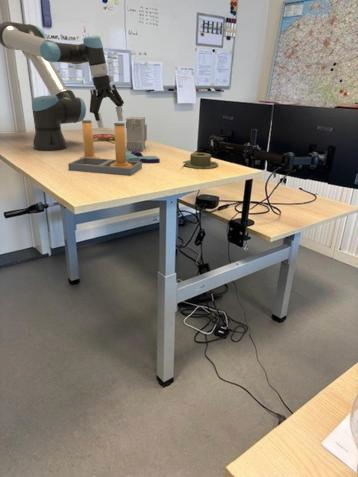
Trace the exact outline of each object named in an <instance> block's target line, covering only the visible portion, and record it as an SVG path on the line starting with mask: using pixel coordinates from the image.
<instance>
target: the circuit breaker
mask: <svg viewBox="0 0 358 477" xmlns="http://www.w3.org/2000/svg"><path fill="white" fill-rule="evenodd" d="M147 127H148V126H147V124H146V117H143V116H142V117H141V116H128V117H126V118H125V128H126V129H125V134H126V140H125V148H126V151H127V152H130V153H131V152H132V151H138V152H140V153H142V152H143V151H145V150H146V142H147V139H148V138H147V135H148V133H147Z"/></svg>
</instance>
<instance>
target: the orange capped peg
mask: <svg viewBox="0 0 358 477" xmlns="http://www.w3.org/2000/svg"><path fill="white" fill-rule="evenodd" d="M113 126H114V128H113V129H114V130H113V131H114V135H115V140H114V143H115V144H114V147H115V148H114V149H115V151H114V152H115V160H116V162H114V163H112V164H110V167H121V168H130V167H132V164H130V163H128V162H126V151H127V149H126V129H125V128H126V122H115V123H113Z"/></svg>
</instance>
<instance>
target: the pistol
mask: <svg viewBox="0 0 358 477" xmlns="http://www.w3.org/2000/svg"><path fill="white" fill-rule="evenodd" d="M160 160H161V159H160V158H159V157H158V156H156V155H144V154H143V153H142V152H138V151H132V152H131V151H127V150H126V161H137V162H142V164H160V163H161V162H160Z"/></svg>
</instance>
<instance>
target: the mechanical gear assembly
mask: <svg viewBox="0 0 358 477" xmlns="http://www.w3.org/2000/svg"><path fill="white" fill-rule="evenodd" d="M92 136H93V143H94V142H108V143H112V144H114V145H115V134H113V133H94V134H93V133H92Z"/></svg>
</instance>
